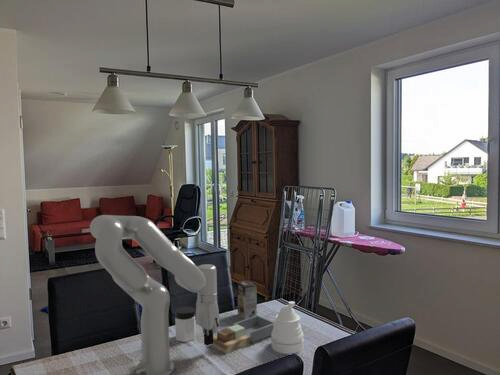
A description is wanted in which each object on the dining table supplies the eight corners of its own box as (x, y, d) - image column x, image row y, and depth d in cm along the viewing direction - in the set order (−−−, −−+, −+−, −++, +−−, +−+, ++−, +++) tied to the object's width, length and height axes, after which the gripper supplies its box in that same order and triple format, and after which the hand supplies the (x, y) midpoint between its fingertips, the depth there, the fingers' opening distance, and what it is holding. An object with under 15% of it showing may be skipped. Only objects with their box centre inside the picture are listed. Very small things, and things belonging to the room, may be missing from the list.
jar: (180, 344, 161) (179, 315, 161) (172, 337, 168) (171, 309, 167) (199, 338, 166) (199, 310, 165) (191, 331, 173) (190, 304, 172)
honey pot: (305, 340, 162) (305, 297, 161) (301, 355, 150) (300, 309, 149) (275, 337, 166) (274, 295, 164) (268, 352, 153) (267, 306, 152)
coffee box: (237, 314, 192) (236, 281, 191) (249, 311, 195) (248, 279, 194) (245, 320, 184) (244, 286, 183) (257, 318, 187) (256, 284, 186)
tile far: (235, 338, 158) (235, 331, 158) (227, 334, 162) (227, 327, 162) (245, 335, 162) (244, 327, 161) (237, 331, 165) (237, 324, 165)
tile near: (224, 343, 155) (224, 335, 155) (217, 338, 159) (216, 331, 158) (234, 339, 158) (234, 331, 158) (226, 335, 162) (226, 328, 162)
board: (226, 353, 152) (226, 346, 152) (211, 344, 160) (211, 337, 160) (250, 343, 160) (250, 336, 160) (234, 336, 168) (234, 329, 168)
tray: (251, 344, 159) (251, 332, 159) (233, 335, 169) (233, 323, 168) (276, 334, 169) (276, 322, 168) (257, 325, 178) (257, 315, 177)
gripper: (188, 294, 155) (190, 340, 156) (210, 304, 144) (212, 353, 145) (204, 290, 160) (205, 334, 161) (227, 299, 148) (228, 347, 150)
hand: (208, 343), depth 153 cm, fingers closed
